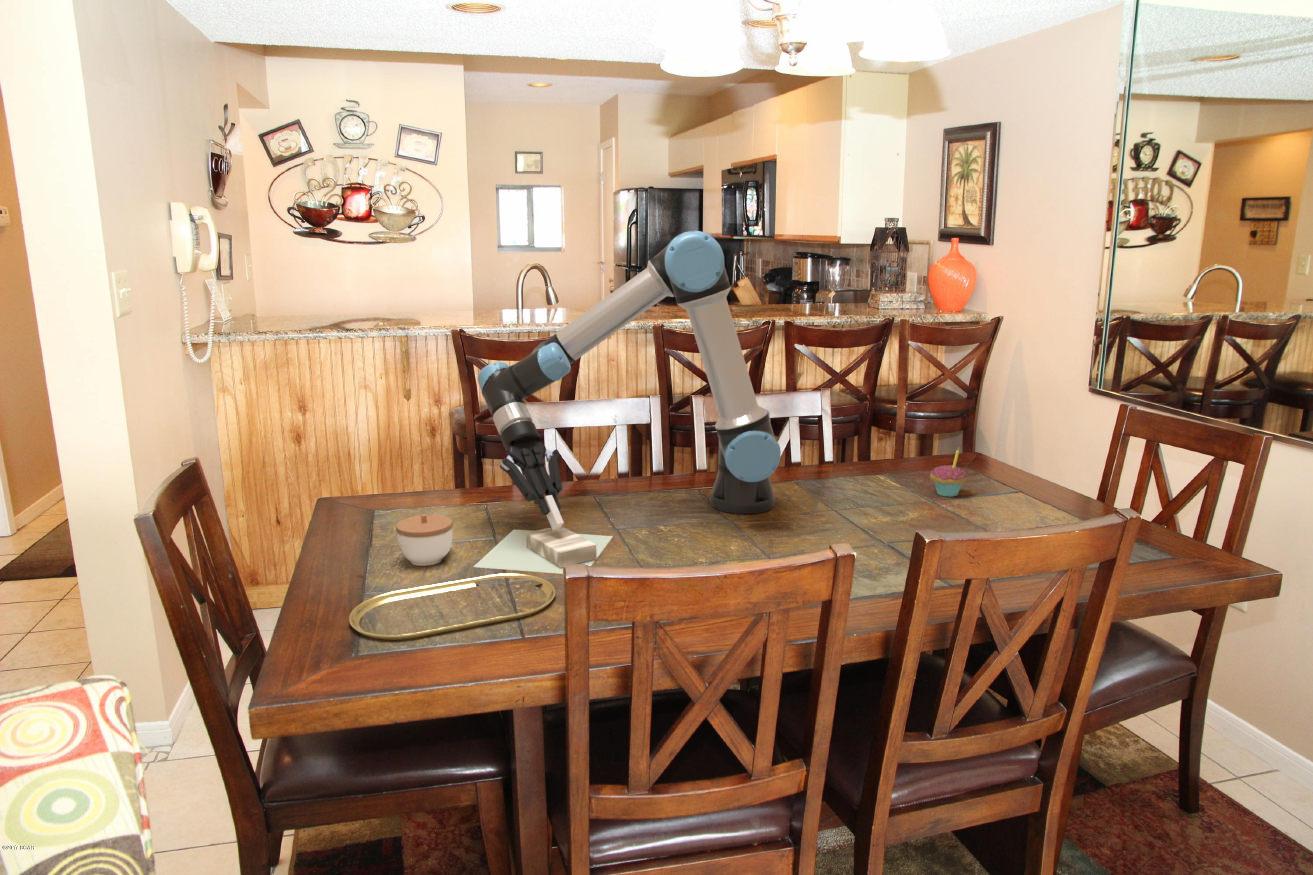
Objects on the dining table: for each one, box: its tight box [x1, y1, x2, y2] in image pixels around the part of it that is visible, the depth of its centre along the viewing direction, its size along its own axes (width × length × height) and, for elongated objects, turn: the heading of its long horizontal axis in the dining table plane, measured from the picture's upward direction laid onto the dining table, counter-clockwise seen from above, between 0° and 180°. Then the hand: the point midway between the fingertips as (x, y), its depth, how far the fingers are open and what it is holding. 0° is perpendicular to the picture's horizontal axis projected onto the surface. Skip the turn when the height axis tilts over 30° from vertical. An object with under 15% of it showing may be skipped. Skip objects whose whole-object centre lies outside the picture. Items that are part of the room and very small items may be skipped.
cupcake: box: [929, 447, 968, 498], centre depth 217 cm, size 9×8×12 cm
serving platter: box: [348, 573, 556, 641], centre depth 154 cm, size 19×35×2 cm, turn 115°
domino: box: [526, 525, 598, 568], centre depth 178 cm, size 3×8×14 cm
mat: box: [473, 529, 614, 575], centre depth 180 cm, size 22×22×1 cm
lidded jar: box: [395, 513, 454, 567], centre depth 175 cm, size 11×11×9 cm
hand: (558, 526), depth 177 cm, fingers closed
